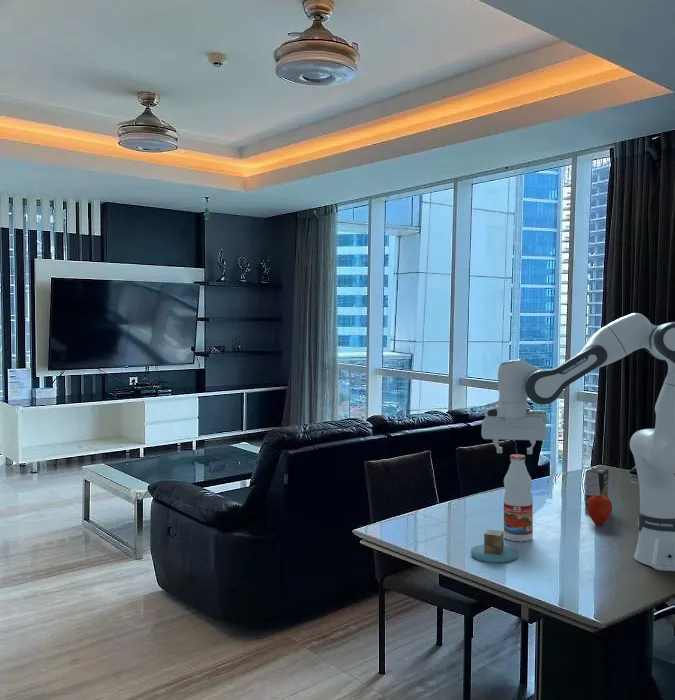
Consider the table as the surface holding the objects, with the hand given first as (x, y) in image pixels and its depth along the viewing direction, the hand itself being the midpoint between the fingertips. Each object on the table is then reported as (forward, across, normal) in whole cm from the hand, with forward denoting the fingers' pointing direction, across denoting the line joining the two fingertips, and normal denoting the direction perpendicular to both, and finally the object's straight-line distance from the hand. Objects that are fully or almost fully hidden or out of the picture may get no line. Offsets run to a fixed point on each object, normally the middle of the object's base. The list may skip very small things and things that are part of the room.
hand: (514, 453), depth 218 cm
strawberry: (+32, -23, -36) cm, 53 cm away
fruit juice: (+31, +2, -11) cm, 33 cm away
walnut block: (+29, +6, +9) cm, 31 cm away
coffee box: (+32, -21, -53) cm, 65 cm away
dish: (+30, +6, +9) cm, 32 cm away
